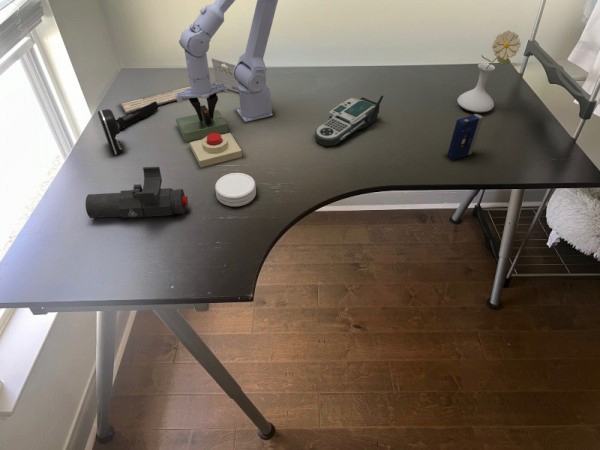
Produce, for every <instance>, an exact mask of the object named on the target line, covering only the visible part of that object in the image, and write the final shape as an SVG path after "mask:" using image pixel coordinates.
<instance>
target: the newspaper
mask: <svg viewBox="0 0 600 450" xmlns="http://www.w3.org/2000/svg"><path fill="white" fill-rule="evenodd" d="M190 88H191V86H186V87H182V88H178V89H174V90H171V91H167V92H162V93H159V94H154V95H150V96H146V97H143V98H139V99H135V100H130V101H127V102H123V103H120V107H122V109H123V111H124V113H125V115H127V114H129V113H131V112H133V111H136V110H138V109H140V108H142V107H144V106H146V105H149V104H151V103H153V102H157V106H160V105H164V104H165V105H166V104H169V103H173V102H177V98H176V93H179V92H182V91H185V90H187V89H190Z"/></svg>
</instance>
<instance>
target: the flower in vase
mask: <svg viewBox="0 0 600 450" xmlns="http://www.w3.org/2000/svg"><path fill="white" fill-rule="evenodd" d="M520 41H521V40H520V38H519V34H518V33H516V32H515V31H511V30H509V29H508V30H506V31H503V32H502V33H501V32H500V33H498V34H497V35H496V36H495V40H493V43H492V45H491V48H492V52H493V55H494V56H495V58H494V59H493V60H492V61H491V60H490V59H489V58H487V57H485V56H484V55H481V58H482V59H484V60H486V61H488V62H489V63H487V62H479V64H478V65H477V68H478V70H479V74H478V80H477V83H476V86H475V87H474V88H472V89H470V90H467V91H465V92H463V93H461V94H460V95H459V96H458V97H457V101H456V102H457V104H458V106H459V107H460V108H461V109H463V110H466V111H468V112H471V113H487V112H489V111H491V110H493V108H494V107H495V102H494V100H493V98H492V97H491V95H489V93H487V91H486V90H485V86H486V82H487V80H488V78H489V75H490V74H491V73H492V72H493V71H494V70H495V69H496V66H495V65H493V63H494V62H495V61H496V60H497V62H498V64H499V65H502V66H503V65H508V64H509V65H510V64H511V63H512V62H511V60H510V59H511V58H512V57H514V56H516V55H517V53H518V52H519V51H520V48H521V43H522V42H520Z"/></svg>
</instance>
